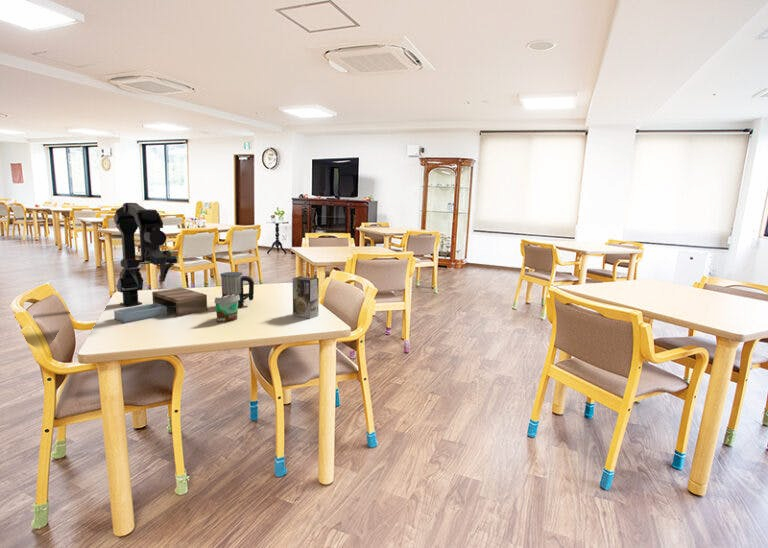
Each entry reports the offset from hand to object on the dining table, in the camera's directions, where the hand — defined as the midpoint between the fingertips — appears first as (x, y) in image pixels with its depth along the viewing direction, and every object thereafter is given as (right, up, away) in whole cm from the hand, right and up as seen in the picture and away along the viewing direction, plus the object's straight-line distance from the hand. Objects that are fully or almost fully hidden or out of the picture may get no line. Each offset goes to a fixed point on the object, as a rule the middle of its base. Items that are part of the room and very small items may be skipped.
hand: (151, 283), depth 163 cm
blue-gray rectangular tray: (-6, -13, +4) cm, 15 cm away
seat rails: (+4, -11, +17) cm, 21 cm away
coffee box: (+57, -14, +15) cm, 60 cm away
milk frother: (+23, -10, +29) cm, 38 cm away
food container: (+29, -15, +5) cm, 33 cm away
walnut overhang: (+3, -11, +17) cm, 20 cm away
